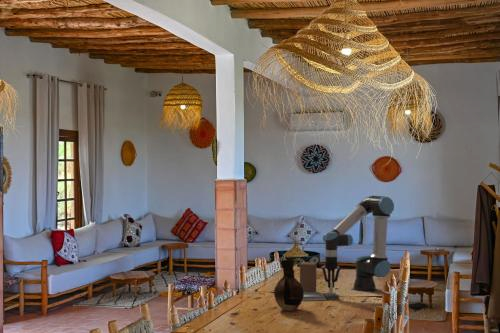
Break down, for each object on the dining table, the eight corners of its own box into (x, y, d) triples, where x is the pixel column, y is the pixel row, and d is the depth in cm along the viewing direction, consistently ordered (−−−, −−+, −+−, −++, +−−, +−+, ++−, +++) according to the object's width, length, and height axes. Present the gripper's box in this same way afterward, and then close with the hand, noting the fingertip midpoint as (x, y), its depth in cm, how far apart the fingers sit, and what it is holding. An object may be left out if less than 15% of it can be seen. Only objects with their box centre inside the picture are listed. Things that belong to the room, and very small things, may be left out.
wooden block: (314, 294, 455) (315, 264, 455) (299, 294, 457) (299, 264, 457) (316, 292, 465) (316, 262, 465) (301, 291, 467) (301, 261, 467)
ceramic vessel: (301, 314, 396) (302, 262, 396) (271, 313, 399) (271, 261, 399) (305, 306, 417) (305, 257, 417) (276, 305, 420) (276, 256, 420)
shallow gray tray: (320, 295, 452) (320, 292, 452) (325, 300, 438) (325, 296, 438) (296, 296, 450) (296, 292, 450) (301, 300, 436) (301, 296, 436)
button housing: (335, 296, 449) (335, 293, 449) (338, 299, 441) (338, 295, 441) (323, 296, 448) (323, 293, 448) (326, 299, 440) (326, 295, 440)
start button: (333, 296, 447) (333, 292, 447) (334, 297, 443) (334, 293, 443) (327, 296, 446) (327, 292, 446) (328, 297, 442) (328, 293, 442)
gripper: (339, 255, 449) (339, 291, 449) (320, 255, 447) (319, 291, 447) (342, 256, 441) (342, 293, 442) (322, 257, 440) (322, 294, 440)
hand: (330, 292), depth 444 cm, fingers closed
